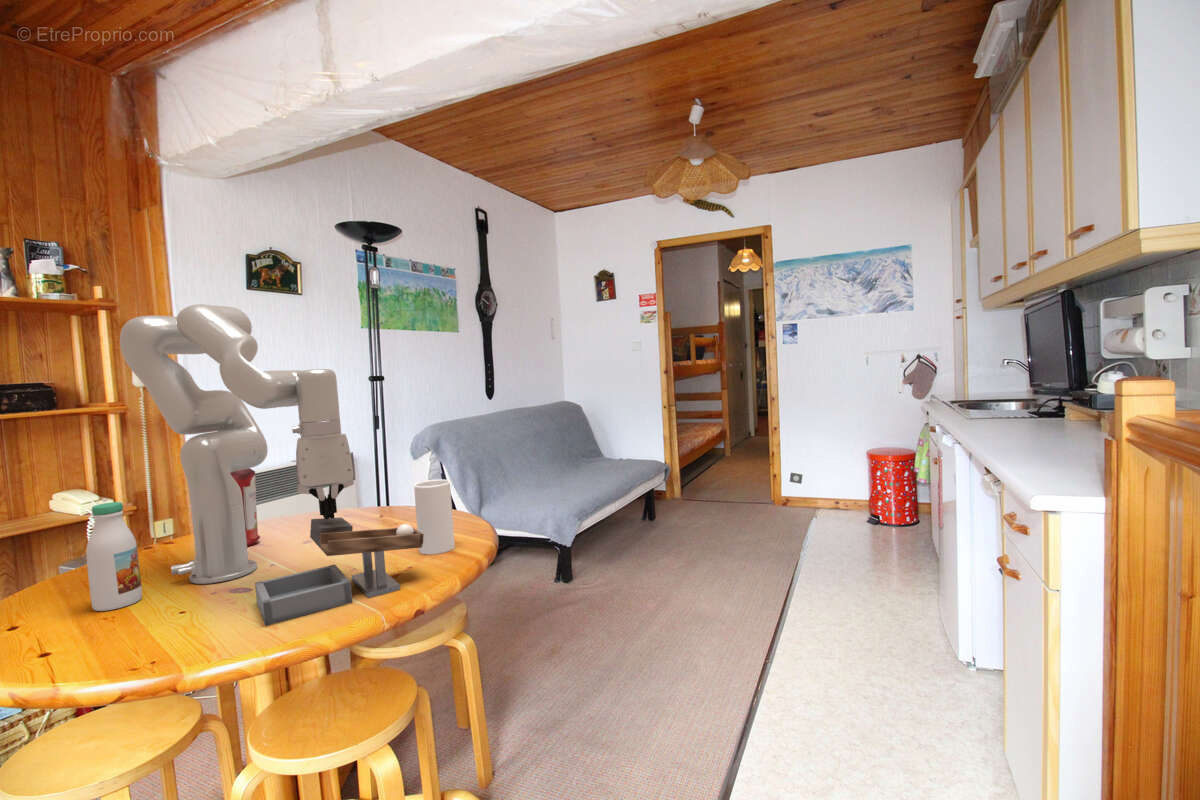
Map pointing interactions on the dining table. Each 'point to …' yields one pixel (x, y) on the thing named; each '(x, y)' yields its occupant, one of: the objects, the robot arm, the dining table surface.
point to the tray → (302, 594)
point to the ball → (404, 530)
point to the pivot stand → (375, 576)
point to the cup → (434, 516)
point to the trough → (358, 538)
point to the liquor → (248, 502)
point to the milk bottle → (112, 560)
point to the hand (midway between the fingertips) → (328, 517)
